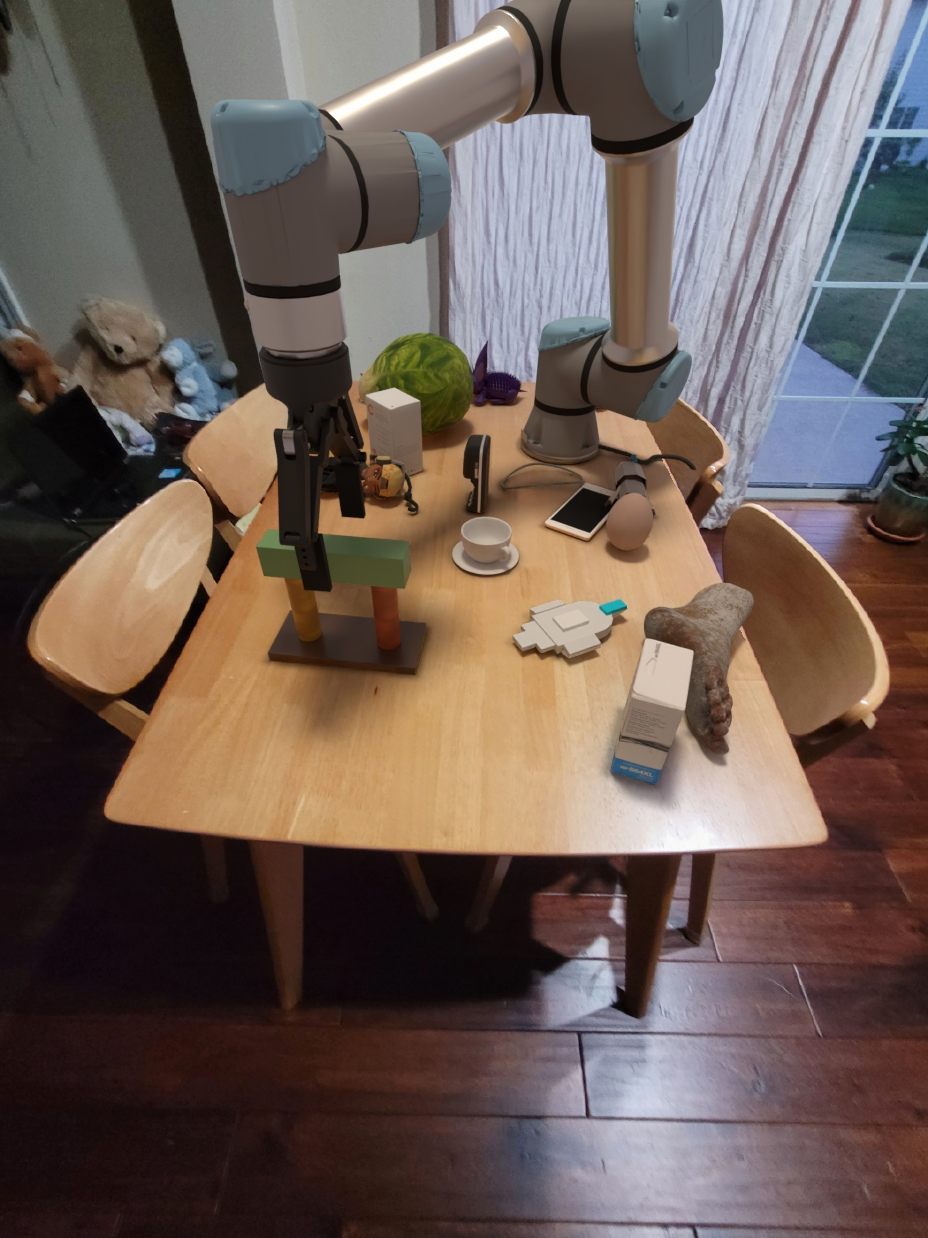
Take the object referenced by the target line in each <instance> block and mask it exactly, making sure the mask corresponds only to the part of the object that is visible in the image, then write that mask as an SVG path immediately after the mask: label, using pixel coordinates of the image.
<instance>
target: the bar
mask: <svg viewBox="0 0 928 1238" xmlns="http://www.w3.org/2000/svg"><path fill="white" fill-rule="evenodd" d="M322 534H323V538H324V544H325V549H326V554H327V560H328V565H329V571H330V576H331V582H332V584H333V583H334V584H346V585H356V586H368V587H370V586H377V587H388V588H397V589H399V590H405V589H406V586H407V583H408V581H409V577H410V575H411V571H412V566H411V565H412V564H411V548H410V547H411V546H410V545H411V544H410V540H403V539H402V540H401V539H391V538H390V539H389V538H378V537H366V536H357V535H356V536H354V535H344V534H331V533H322ZM255 549H256V553H257V556H258V560H259V563H260V567H261V571H262V575H263V577H268V578H269V577H270V578H281V579H284V578H290V579H301V580H302V578H301V574H300V569H299V565H298V560H297V556H296V552H295V547H294V546H286V545H281V544H280V543H279V529H271V528H267V530H266V531H265V533H264V534H263V535H262V537H261V539H260V540H259V541H258V542H257V544H256V546H255Z"/></svg>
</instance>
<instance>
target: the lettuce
mask: <svg viewBox="0 0 928 1238" xmlns="http://www.w3.org/2000/svg"><path fill="white" fill-rule="evenodd" d="M472 372H473V369H472V366H471V365H470V362H469V359H468V356H467V355H466V353H465V352H464V351H463V350H462V349H461V348H460V347H459V346H458V345H457V344H455V342H452V341H450V340H449V339H448V338H446V337H444V336H441V335H439V334H436V333H432V332H417V333H410V334H405V335H402V336H399V337H397V338H396V339H395V340H393V341H392V342H390V343H389V344H388V345H387V346H385V348H384V349H383V350H382V351H381V352H380V353H379V354H378V356H376V358H375V360H374V361H373V363H372V364H371V365H369V367H368V368H367V369H366V370H365V371H364V372H363V373H362V374H363V375H362V377H361V376H360V378H359V380H358V383H357V391H358V396H359V398H360V399H361V400H362V401H363V402H362V403H363V404H364V405H365V406H366V397H365V395H367V394H371V393H375V392H379V391H383V390H387V389H391V388H396V389H398V390H400V391H402V392H404V393H406V394H408V395H410V396H412V397H414V398H416V399H418V400H420V401H421V428H422V438H423V437H426V436H431V435H434V434H436V433H440V432H442V431H444V430H446V429H447V428H450V427H452V426H454V425H456V424H459V423H460V422H461V421H462V420H463V418H464V417H465V416H466V414H467V413H468V412H469V410H470V408H471V405H472V404H471V403H472V401H473V396H474V394H473V375H472ZM360 399H359V400H360Z"/></svg>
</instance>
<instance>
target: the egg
mask: <svg viewBox="0 0 928 1238" xmlns="http://www.w3.org/2000/svg"><path fill="white" fill-rule="evenodd" d="M652 509H653V508H651V506H650V503H649V501H648V500H647V499H646V498H645V497H644V496H642V495H641V494H638V493H630V494H627V495H624V496H623V497H621V498H620V499H619V500H618V501H617V502H616V503H615V504H614V506H613V507H612V509H611V510H610V512H609V515H608V518H607V520H606V522H605V531H606V535H607V538H608V540H609V541H610V543H611V544H612V545H613V546H614V547H615V548H617V549H618V550H621V551H632V550H635V549H637V548H639V547H640V546H642V545H643V544H644V543H645V542H647V540H648V539H649V538H650V534H651V533H652V529H653V525H654V516H653V513H652Z"/></svg>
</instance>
